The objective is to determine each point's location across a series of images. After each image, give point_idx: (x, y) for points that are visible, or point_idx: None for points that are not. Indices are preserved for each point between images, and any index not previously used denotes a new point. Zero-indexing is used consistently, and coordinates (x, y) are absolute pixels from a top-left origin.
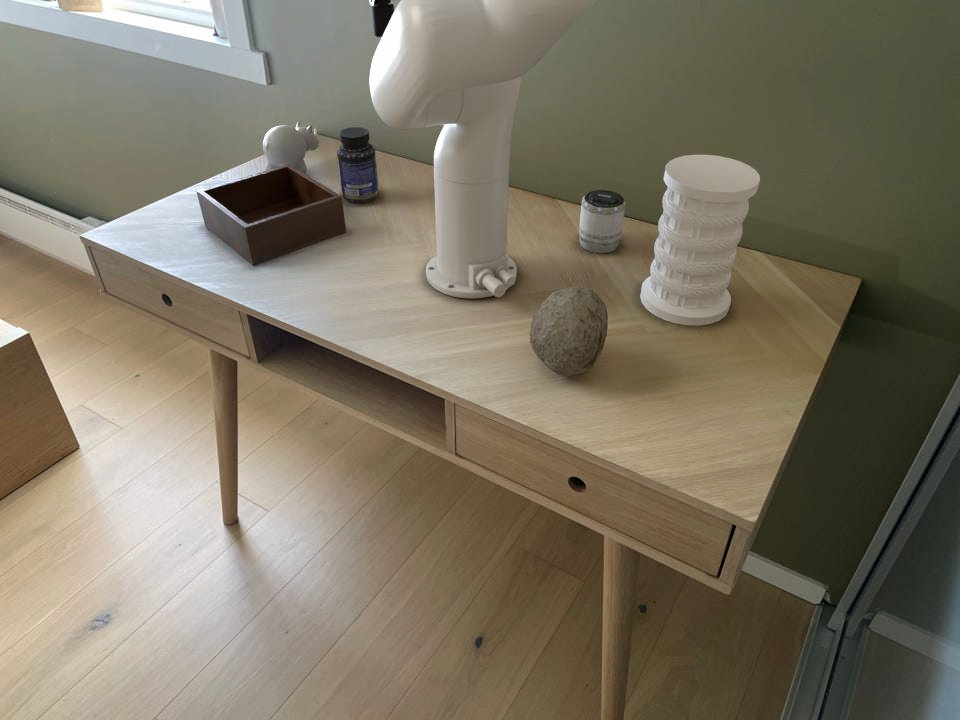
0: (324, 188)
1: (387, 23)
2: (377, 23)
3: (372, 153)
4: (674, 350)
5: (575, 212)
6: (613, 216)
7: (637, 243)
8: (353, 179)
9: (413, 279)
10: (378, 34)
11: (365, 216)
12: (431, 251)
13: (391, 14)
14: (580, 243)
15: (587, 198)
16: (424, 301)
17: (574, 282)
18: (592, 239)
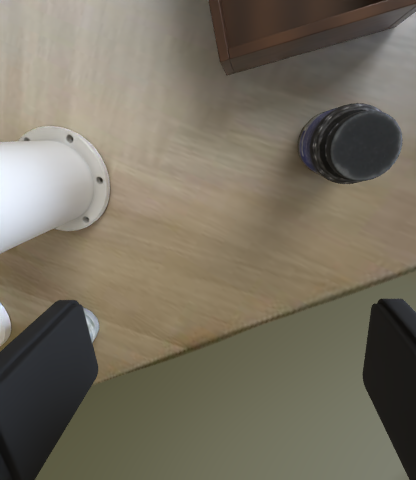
0: (266, 39)
1: (388, 392)
2: (400, 346)
3: (318, 170)
4: None
5: (150, 345)
6: None
7: None
8: (312, 123)
9: (75, 114)
10: (375, 311)
11: (261, 123)
12: (129, 165)
13: (407, 457)
14: (83, 308)
15: None
16: (28, 105)
17: (24, 262)
18: None
